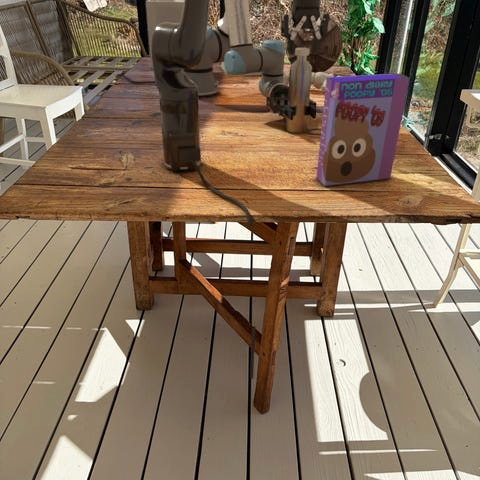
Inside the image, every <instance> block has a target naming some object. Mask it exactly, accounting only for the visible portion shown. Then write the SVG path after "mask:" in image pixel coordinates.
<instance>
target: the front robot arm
mask: <svg viewBox="0 0 480 480" xmlns="http://www.w3.org/2000/svg"><path fill="white" fill-rule="evenodd" d="M321 1H322V0H292V10H291V11H290V13H284V12H282V13H281V14H280V36H281V37H282V38H285V39H286V38H287V51H288V53H289V54H294V43H295V40H294V38H295V36H296V34H297V33H298V32H299V31H300V29H305V28H307V29H310V31H311V32H312V35H313V37H314V38H313V39H312V47H311V52H312V53H317V51H318V49H319V40H320V38H321V37H323V36H324V37H325V36H326V35H327V29H328V23H329V17H330V15H331V14H330V13H328V12H321V10H320V8H321ZM210 5H211V0H184V9H183V16H182V20H181V24H179V23H170V22H164V23H160V24H159V25H157V26H156V28H155V29H154V31H153V34H152V39H151V54H152V62H153V69H152V70H153V78H154V81H155V83H154V84H155V86H156V88H157V90H158V96H159V111H160V123H161V124H160V125H161V138H162V139H161V140H162V151H163V166H164V167H165V168H166V169H168V170H170V171H171V172H187V171H196V173H197V174H198V177H199V178H200V180H201V181H202V183H203V184H204V185H205V187H206V188H207V189H208V190H210V191H211V192H212V193H214V194H215V195H218V196H219V197H220V198H222V199H225V200H227V201H229V202H231V203H234V204H235V205H237V206H238V207H239V208H240V209H242V211H243V212H244V213H245V217H246V219H247V223H248V226H249V227H254V224H253V221H252V217H251V214H250V211H249V209H248V208H247V206H245V205H244V204H243V203H242V202H240V201H239V200H237V199H235V198H233V197H231V196H228V195H226V194H224V193H222V192H221V191H219V190H217V189H216V188H215V187H212V186H211V185H210V184H209V182H207V180H206V178H205V176H204V175H203V173H202V171H201V169H200V168H199V167H200V166H201V165H202V162H201V161H202V157H201V156H202V155H201V142H200V113H199V110H200V108H199V98H198V86H197V84H196V83H195V82H194V81H192V80H191V79H190V78H189V77H188V76H187V75H186V74H185V72H184V70H183V69H194V68H195V67H197V65H198V64H199V63H200V61H201V59H202V56H203V53H204V49H205V42H206V34H207V26H208V21H209V15H210V13H209V12H210ZM319 17H320V21H321V23H320V29H319V28H318V26H317V23H316V22H317V20H318V19H319ZM330 18H331V17H330ZM291 20H292V24H291V26H290V22H291ZM289 26H290V27H291V28H290V27H289ZM289 29H290V31H289ZM256 329H257V326H256V325H253V326H252V327H251V345H250V368H249V378H250V379H254V371H255V369H254V368H255V367H254V366H255V345H256V344H255V343H256Z"/></svg>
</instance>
